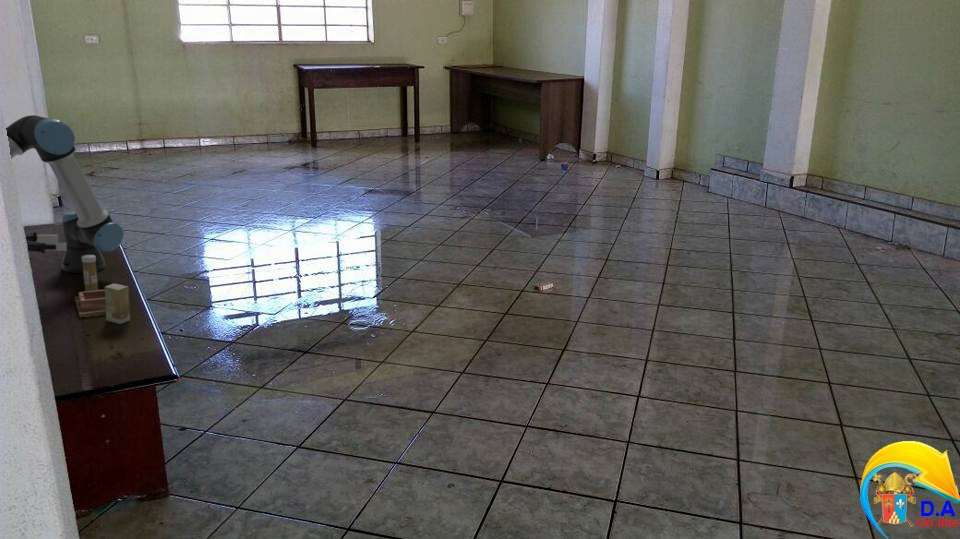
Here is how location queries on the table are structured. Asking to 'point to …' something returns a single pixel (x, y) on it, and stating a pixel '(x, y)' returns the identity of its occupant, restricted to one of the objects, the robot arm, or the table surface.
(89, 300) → the collar plate
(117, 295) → the skincare box
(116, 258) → the table surface
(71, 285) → the table surface
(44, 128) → the robot arm
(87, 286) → the sprinkles bottle
